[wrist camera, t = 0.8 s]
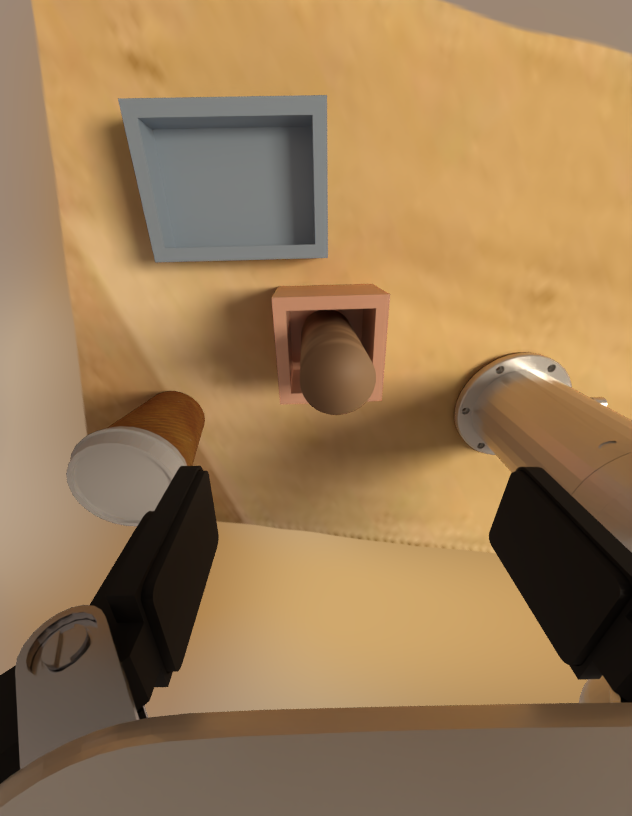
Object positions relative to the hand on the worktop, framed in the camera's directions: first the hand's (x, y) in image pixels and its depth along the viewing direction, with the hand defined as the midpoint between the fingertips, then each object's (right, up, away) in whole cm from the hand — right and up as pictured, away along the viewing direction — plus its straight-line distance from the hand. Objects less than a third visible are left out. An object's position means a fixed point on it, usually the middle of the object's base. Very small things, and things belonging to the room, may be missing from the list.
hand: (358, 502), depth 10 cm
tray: (-8, +21, +17) cm, 28 cm away
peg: (0, +10, +22) cm, 24 cm away
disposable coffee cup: (-17, +2, +27) cm, 32 cm away
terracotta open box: (0, +11, +23) cm, 25 cm away
